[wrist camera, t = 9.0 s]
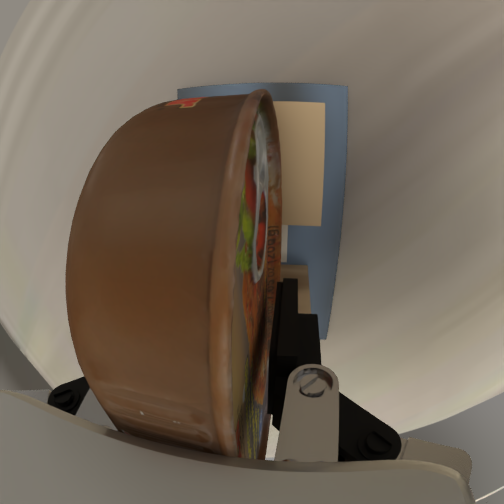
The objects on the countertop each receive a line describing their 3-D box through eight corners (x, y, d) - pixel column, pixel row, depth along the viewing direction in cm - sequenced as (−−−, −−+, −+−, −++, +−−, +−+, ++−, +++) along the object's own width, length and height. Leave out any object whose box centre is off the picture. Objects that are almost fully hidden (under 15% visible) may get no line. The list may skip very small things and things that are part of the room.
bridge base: (345, 87, 15) (375, 71, 9) (325, 334, 23) (331, 400, 17) (180, 90, 16) (127, 81, 10) (202, 327, 24) (178, 387, 18)
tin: (273, 402, 16) (264, 538, 8) (219, 398, 16) (192, 530, 8) (283, 102, 9) (302, 31, 1) (191, 105, 9) (-21, 110, 2)
